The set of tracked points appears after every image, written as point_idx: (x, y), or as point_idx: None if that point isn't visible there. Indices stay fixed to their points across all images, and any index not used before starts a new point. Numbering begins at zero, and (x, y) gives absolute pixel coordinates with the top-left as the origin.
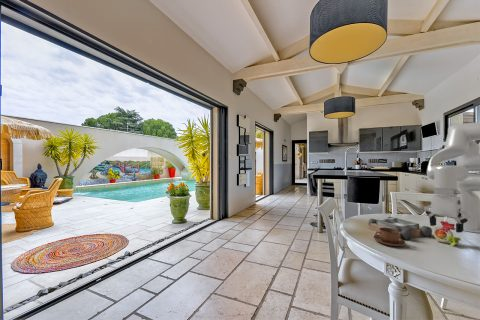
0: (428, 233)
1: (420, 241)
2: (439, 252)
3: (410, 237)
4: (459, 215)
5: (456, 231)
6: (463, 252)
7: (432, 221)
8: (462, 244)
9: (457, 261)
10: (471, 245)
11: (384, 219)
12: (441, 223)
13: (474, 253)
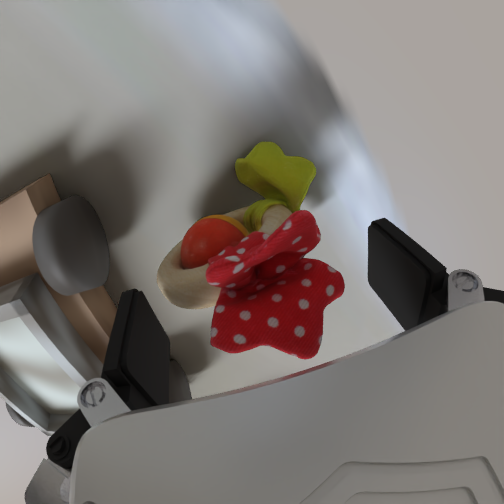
0: (93, 237)
1: (199, 332)
2: (333, 339)
3: (175, 367)
4: (487, 322)
5: (374, 286)
6: (363, 237)
7: (165, 374)
8: (260, 96)
9: (395, 331)
10: (284, 49)
11: (16, 407)
12: (223, 325)
13: (385, 191)
